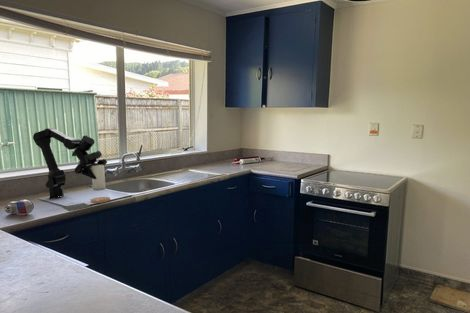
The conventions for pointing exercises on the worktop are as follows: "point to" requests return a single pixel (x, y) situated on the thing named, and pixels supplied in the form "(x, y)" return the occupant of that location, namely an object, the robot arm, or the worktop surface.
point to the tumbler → (98, 177)
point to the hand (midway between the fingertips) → (100, 177)
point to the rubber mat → (76, 206)
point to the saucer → (100, 199)
